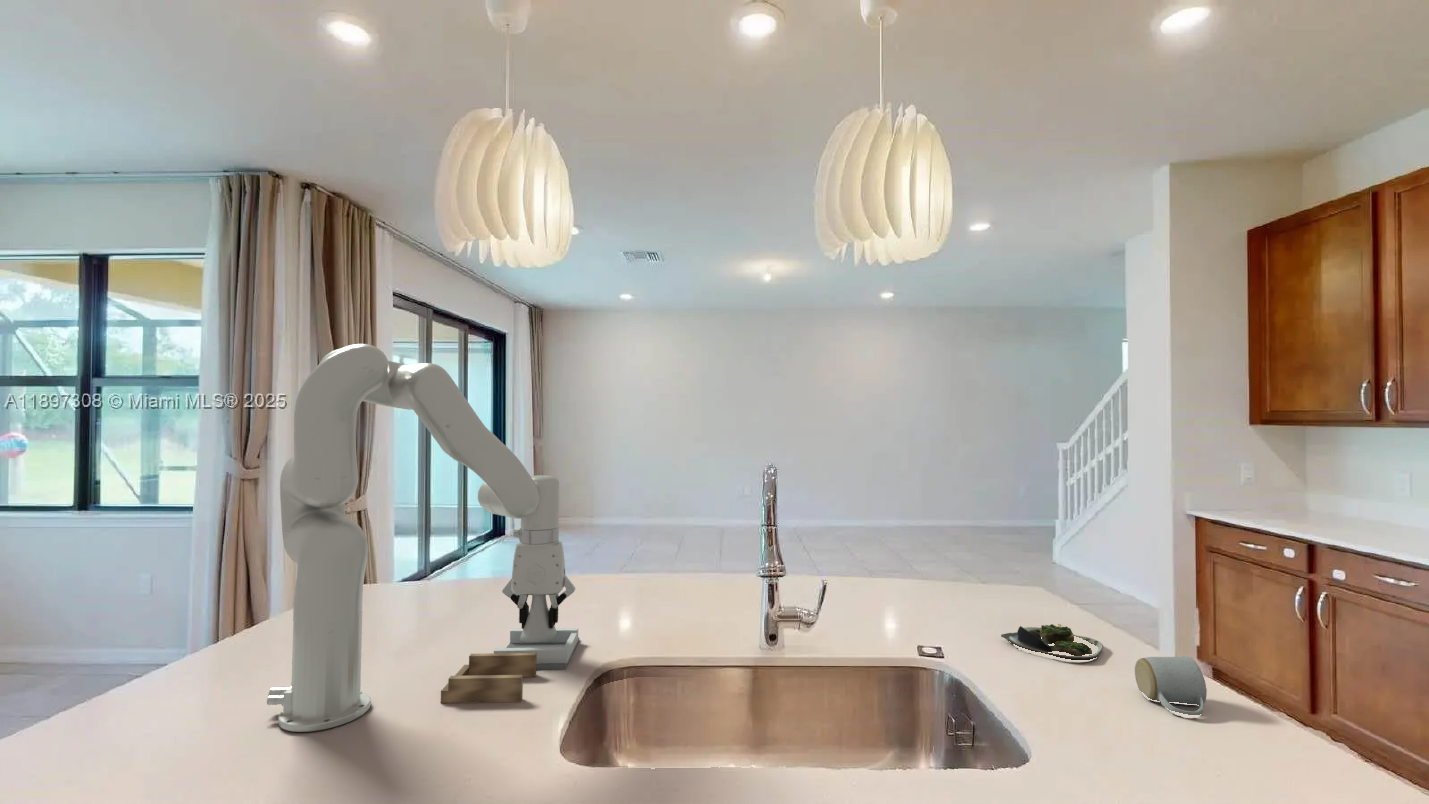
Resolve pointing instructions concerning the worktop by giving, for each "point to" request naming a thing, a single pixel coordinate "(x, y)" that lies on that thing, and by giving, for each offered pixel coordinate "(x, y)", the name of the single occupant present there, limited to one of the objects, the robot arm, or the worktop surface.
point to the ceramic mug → (1172, 681)
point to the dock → (546, 648)
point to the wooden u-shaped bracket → (490, 678)
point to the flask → (538, 622)
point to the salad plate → (1053, 641)
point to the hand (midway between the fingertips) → (538, 625)
